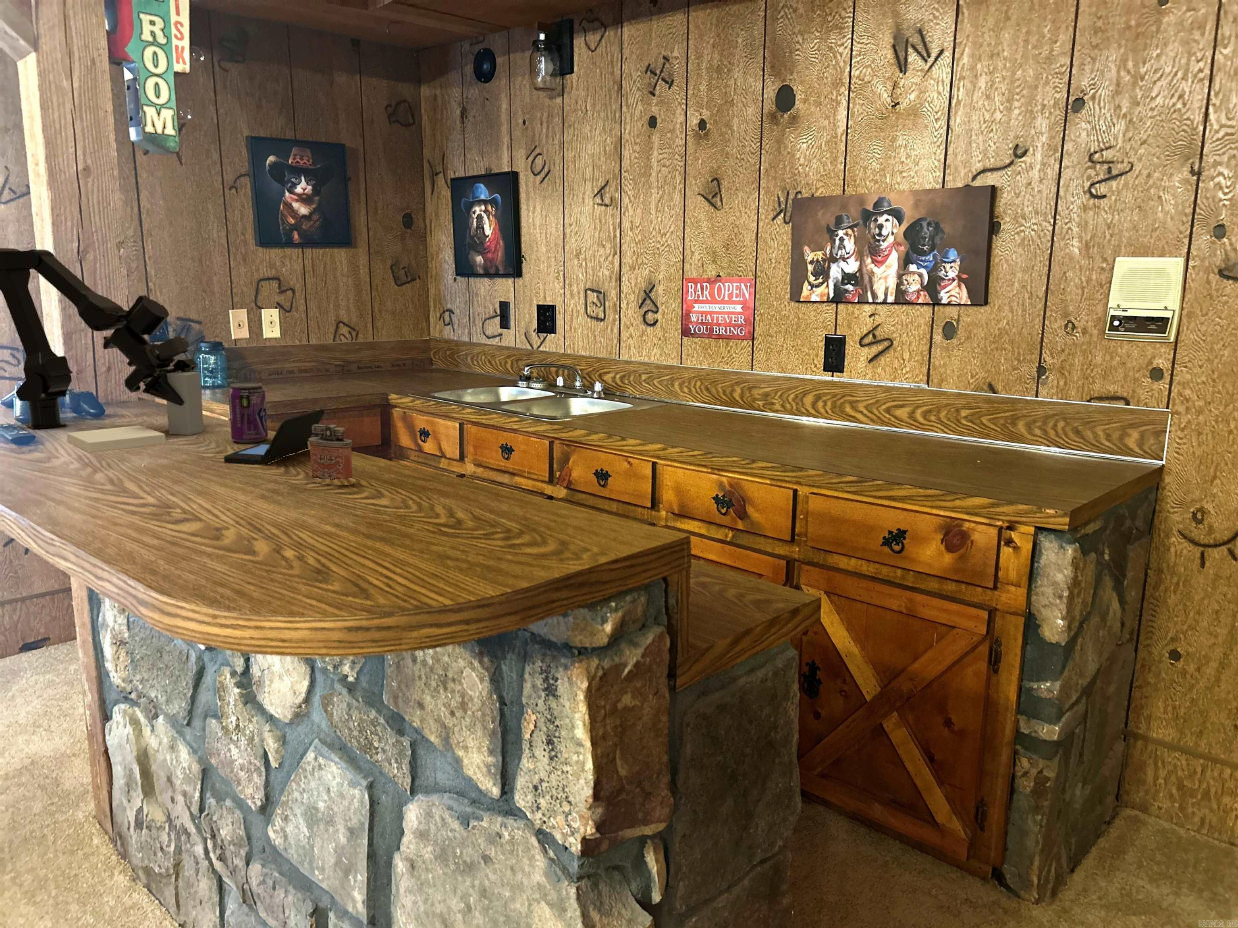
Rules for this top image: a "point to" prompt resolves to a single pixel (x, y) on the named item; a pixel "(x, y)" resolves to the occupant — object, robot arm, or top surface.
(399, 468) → the top surface
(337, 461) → the lighter
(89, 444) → the slab
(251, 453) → the game console
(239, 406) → the beverage can
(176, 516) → the top surface
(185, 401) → the tall block
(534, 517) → the top surface
